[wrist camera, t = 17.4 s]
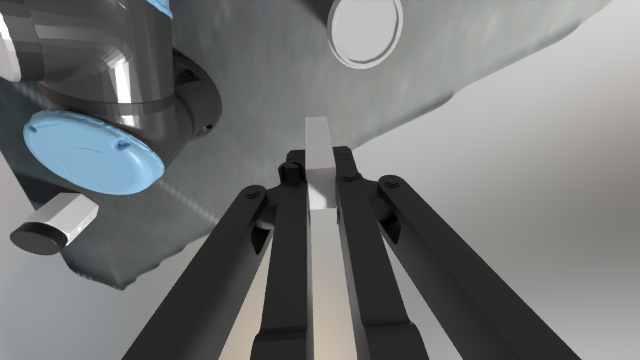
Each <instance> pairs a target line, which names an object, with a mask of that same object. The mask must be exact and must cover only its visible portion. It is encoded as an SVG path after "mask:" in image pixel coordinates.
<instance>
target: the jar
mask: <svg viewBox="0 0 640 360" xmlns="http://www.w3.org/2000/svg"><path fill="white" fill-rule="evenodd" d="M98 207H99V206H98V205H97V204H96V203H94V202H93V201H91V200H90V199H88V198H87V197H86V196H84V195H83V194H81V193H59V194H58V195H57V196H55V197H54V198H53V199H51V200H50V201H49V202H47V203H46V204H45V205H44V206H42V207H41V208H40V209H38V210H37V211H36V212H34V213H33V214H32V215H30V216H29V217H28V218H26V219H25V220H24V221H23V225H21V226H20V227H19V228H17V229H16V230H15V231H13V232H12V233H11V234H10V240H11V241H12V242H13V243H14V244H15V245H16V246H18V247H19V248H21V249H23V250H25V251H28V252H31V253H34V254H39V255H53V254H56V253H58V252H59V251H60V250H62V249H63V248H64V247H65V245H68V244H69V243H70V242H71V241H72V240H73V239H74V238H75V237H76V236H77V235H78V234H79V233H80V232H81V231H82V230H83V229H84V228H85V227H86V226H87V225H88V224H89V223H90V222H91V221H92V220H93V219H94V218H95V217H96V215H97V211H98Z"/></svg>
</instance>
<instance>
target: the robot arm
mask: <svg viewBox="0 0 640 360" xmlns="http://www.w3.org/2000/svg"><path fill="white" fill-rule="evenodd" d="M171 19H173V15H172V13H171V12H170V8H169V0H0V76H1V77H3V78H5V79H7V80H9V81H13V82H21V81H37V82H38V85H39V87H40V90H41V93H42V95H43V98H44V100H45V103H46V106H47V110H44V111H40V112H38V113H35V114H34V115H33V116H32V118H31V120H30V122H28V123H27V124H26V125H25V126H24V130H23V135H24V140H25V142H26V144H27V146H28V148H29V150H30V151H31V152H32V154H33V155H34V156H35V157H36V158H37V159H38V160H39V161H40V162H41V163H42V164H43V165H45V166H46V167H47V168H48V169H50V170H51V171H53V172H54V173H56V174H57V175H59V176H60V177H63V178H65V179H67V180H68V181H70V182H72V183H74V184H76V185H79V186H81V187H84V188H87V189H90V190H93V191H97V192H101V193H106V194H115V195H126V194H133V193H137V192H139V191H142V190H144V189H146V188H147V187H149V186H150V185H151V184H152V183H153V182H154V181H155V180H157V179H158V178H160V177H161V176H162V174H163V172H164V170H165V169H166V168H167V167H168V165H169V164H170V163H171V162H172V161H173V160H174V158H175V157H176V156H177V155H178V154H179V152H180V151H181V150H182V149H183V148H184V147H185V145H186V144H187V143H188V142H189V141H192V140H195V139H198V138H201V137H203V136H205V135H207V134H208V133H209V132H210V131H211V130H212V129H213V128H214V127H215V126H216V124H217V123H218V121H219V119H220V116H221V111H222V104H221V98H220V95H219V92H218V90H217V88H216V86H215V84H214V82H213V81H212V79H211V78H210V77H209V76H208V74H207V73H206V72H205V71H204V70H203V69H201V68H200V67H199V66H198V65H196V64H195V63H193V62H192V61H190V60H188V59H186V58H184V57H182V56H179V55H176V54H173V51H172V33H171ZM278 171H279V176H280V181H281V184H280V185H278V186H277V187H274V188H272V189H268V190H266V189H265V188H264V187H263V186H260V185H252V186H248V187H246V188H244V189H243V190H242V191H241V192H240V193H239V194H238V196H237V197H236V199H235V200H234V201H233V203H232V204H231V206H230V207H229V208H228V210H227V211H226V213H225V214H224V215H223V217H222V218H221V220H220V221H219V223H218V224H217V225H216V227H215V228H214V230H213V231H212V232H211V234H210V235H209V237H208V238H207V239H206V241H205V242H204V244H203V245H202V247H201V248H200V249H199V251H198V252H197V254H196V255H195V257H194V258H193V259H192V261H191V262H190V263H189V265H188V266H187V268H186V269H185V271H184V272H183V273H182V275H181V276H180V278H179V279H178V281H177V282H176V283H175V285H174V286H173V287H172V289H171V290H170V292H169V293H168V295H167V296H166V297H165V299H164V300H163V302H162V303H161V304H160V306H159V307H158V309H157V310H156V311H155V313H154V314H153V316H152V317H151V318H150V320H149V322H148V323H147V324H146V326H145V327H144V328H143V330H142V331H141V333H140V334H139V335H138V337H137V338H136V340H135V341H134V342H133V344H132V345H131V347H130V348H129V349H128V351H127V352H126V354H125V355H124V357H123V358H122V359H121V360H218V359H219V356H220V354H221V351H222V349H223V347H224V345H225V342H226V340H227V338H228V336H229V333H230V331H231V329H232V326H233V324H234V322H235V320H236V318H237V315H238V313H239V311H240V309H241V306H242V304H243V302H244V299H245V297H246V295H247V293H248V290H249V288H250V286H251V283H252V281H253V279H254V276H255V274H256V272H257V270H258V268H259V265H260V263H261V261H262V258H263V256H264V254H265V251H266V249H267V247H268V245H269V242H270V240H271V238H272V236H273V241H272V249H271V257H270V263H269V270H268V277H267V285H266V292H265V299H264V307H263V313H262V321H261V327H260V331H259V333H258V334H257V335H256V336H255V339H254V341H253V345H252V351H251V356H250V360H314V340H313V300H312V299H313V298H312V258H311V220H310V219H311V217H310V209H324V208H336V205H337V224H338V225H339V233H340V239H341V246H342V253H343V260H344V267H345V274H346V281H347V288H348V295H349V302H350V309H351V316H352V323H353V330H354V337H355V344H356V351H357V360H429V357H428V354H427V351H426V349H425V346H424V343H423V340H422V337H421V335H420V332H419V330H418V329H417V327H416V325H415V324H414V323H413V322H411V321H410V320H409V318H408V315H407V313H406V310H405V307H404V304H403V301H402V297H401V294H400V291H399V288H398V285H397V282H396V279H395V276H394V273H393V270H392V266H391V264H390V260H389V257H388V254H387V251H386V248H385V245H384V242H383V239H382V236H381V234H382V235H383V237H384V238H385V240H386V241H387V243H388V244H389V246H390V247H391V249H392V251H393V252H394V254H395V255H396V257H397V258H398V260H399V261H400V263H401V264H402V266H403V268H404V269H405V270H406V272H407V274H408V275H409V277H410V278H411V280H412V281H413V283H414V284H415V286H416V288H417V289H418V291H419V292H420V294H421V295H422V297H423V298H424V300H425V301H426V303H427V304H428V306H429V308H430V309H431V311H432V312H433V314H434V315H435V317H436V318H437V320H438V321H439V323H440V324H441V326H442V328H443V329H444V331H445V332H446V334H447V335H448V337H449V338H450V340H451V341H452V343H453V345H454V346H455V348H456V349H457V351H458V352H459V354H460V355H461V357H462V358H463V360H581V359H580V358H579V357H578V356H577V355H576V354H575V353H574V352H573V351H572V350H571V349H570V348H569V347H568V346H567V345H566V343H565V342H564V341H563V340H561V338H560V337H559V336H557V335H556V333H555V332H553V330H552V329H551V328H550V327H549V326H548V325H547V324H546V323H545V322H544V321H543V320H541V318H540V317H539V316H538V315H537V314H536V313H535V312H534V311H533V310H532V309H531V308H530V307H529V306H528V305H527V304H526V303H525V302H524V301H523V300H522V299H521V298H520V297H519V296H518V295H517V294H516V293H515V292H514V291H513V290H512V289H511V288H510V287H509V286H508V285H507V284H506V283H505V282H504V281H503V280H502V279H501V278H500V277H499V276H498V275H497V274H496V273H495V272H494V271H493V270H492V269H491V268H490V267H489V266H488V265H487V263H485V261H484V260H483V259H482V258H481V257H480V256H479V255H478V254H477V253H476V252H475V251H473V249H472V248H471V247H470V246H469V245H468V244H467V243H466V242H465V241H464V240H463V239H462V238H461V237H460V236H459V235H458V234H457V233H456V232H455V231H454V230H453V229H452V228H451V227H450V226H449V225H448V224H447V223H446V222H445V221H444V220H443V219H442V218H441V217H440V216H439V215H438V214H437V213H436V212H435V211H434V210H433V209H432V208H431V207H430V206H429V205H428V204H427V203H426V202H425V201H424V200H423V199H422V198H421V197H420V196H419V195H418V194H417V193H416V192H415V191H414V190H413V188H411V187H410V185H409V184H407V182H405V180H403V179H402V178H400V177H398V176H395V175H385V176H382V177H381V178H380V179H379V181H378V182H377V181H370V180H367V179H364V178H363V177H362V175H361V174H360V173H359V172H358V171H357V168H356V165H355V161H354V158H353V155H352V152H351V149H349V148H348V147H347V146H340V147H332V143H331V138H330V132H329V127H328V121H327V116H318V117H306V133H305V150H291V151H290V152H289V153H288V154H287V158H286V162H285V163H283V164H281V165H280V166H279V168H278ZM273 233H274V234H273Z"/></svg>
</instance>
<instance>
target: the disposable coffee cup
mask: <svg viewBox="0 0 640 360" xmlns="http://www.w3.org/2000/svg"><path fill="white" fill-rule="evenodd" d="M402 23H403V12H402V6H401V2H400V0H334V2H333V4H332V6H331V9H330V12H329V16H328V21H327V37H328V42H329V45H330V48H331V50H332V52H333V53H334V55H335V56H336V57H337V59H338V60H339V61H340V62H342V63H343V64H344V65H346V66H348V67H351V68H355V69H365V68H370V67H373V66H375V65H377V64H379V63H380V62H382V61H383V60H384V59H385V58H386V57H387V56H388V55H389V54H390V53H391V52H392V50H393V49H394V47H395V46H396V44H397V42H398V39H399V37H400V34H401V30H402Z"/></svg>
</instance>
